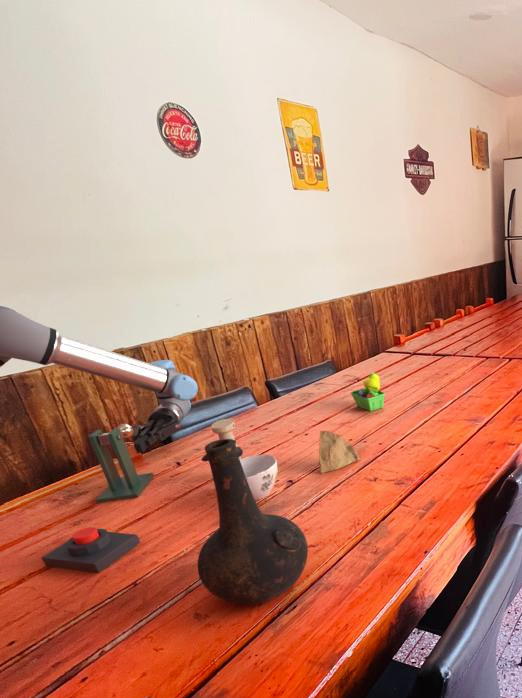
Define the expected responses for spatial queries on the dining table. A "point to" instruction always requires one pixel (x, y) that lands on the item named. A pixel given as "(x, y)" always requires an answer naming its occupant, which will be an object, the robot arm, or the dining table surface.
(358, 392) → the fruit basket
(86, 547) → the control block
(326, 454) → the rock
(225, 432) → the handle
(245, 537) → the glass bottle
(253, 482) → the teacup
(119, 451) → the bracket
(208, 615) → the dining table surface
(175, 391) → the robot arm
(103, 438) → the lever
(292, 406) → the dining table surface
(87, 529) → the button
